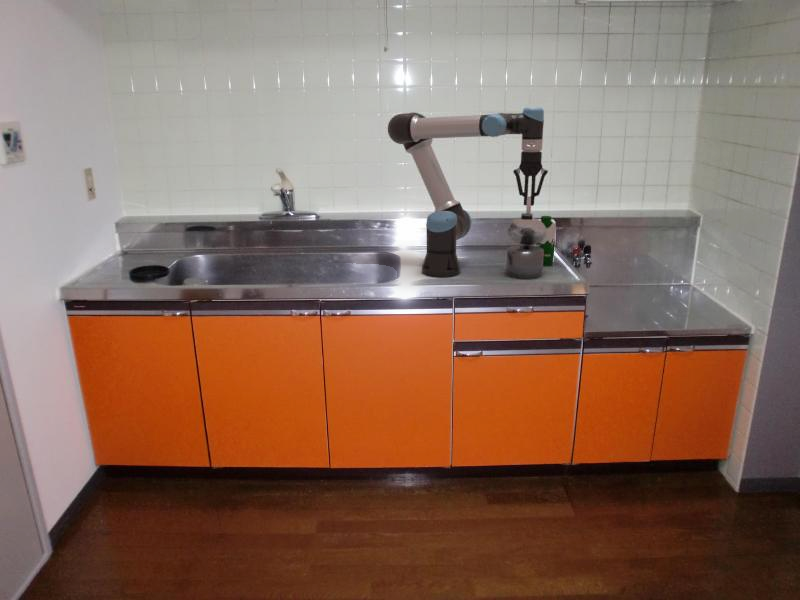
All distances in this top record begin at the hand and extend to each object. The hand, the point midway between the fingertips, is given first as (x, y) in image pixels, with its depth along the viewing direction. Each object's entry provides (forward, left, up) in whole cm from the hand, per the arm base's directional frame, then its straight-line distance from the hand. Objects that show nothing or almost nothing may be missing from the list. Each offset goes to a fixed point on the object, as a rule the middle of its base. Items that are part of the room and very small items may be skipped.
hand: (528, 213), depth 236 cm
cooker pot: (0, -3, -23) cm, 23 cm away
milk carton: (+6, +16, -23) cm, 29 cm away
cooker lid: (0, 0, -7) cm, 7 cm away
